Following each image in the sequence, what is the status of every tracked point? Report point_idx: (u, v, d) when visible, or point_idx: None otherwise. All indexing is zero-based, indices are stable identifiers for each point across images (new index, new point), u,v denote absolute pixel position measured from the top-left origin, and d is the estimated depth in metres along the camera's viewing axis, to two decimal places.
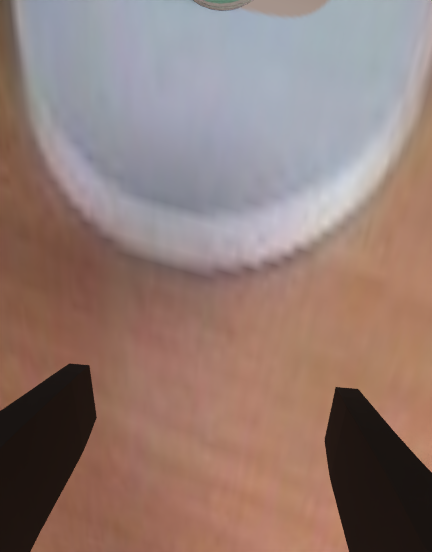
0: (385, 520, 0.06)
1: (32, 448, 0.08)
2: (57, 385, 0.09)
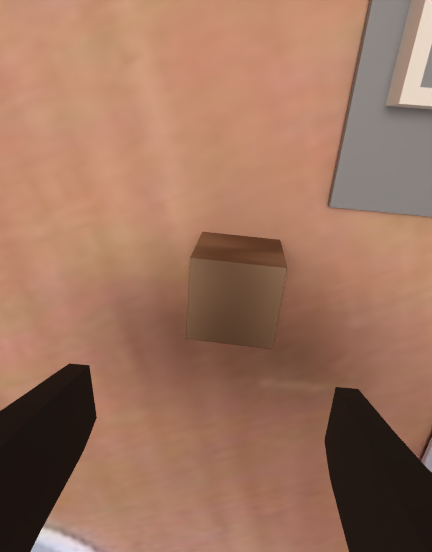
0: (385, 520, 0.06)
1: (32, 448, 0.08)
2: (57, 385, 0.09)
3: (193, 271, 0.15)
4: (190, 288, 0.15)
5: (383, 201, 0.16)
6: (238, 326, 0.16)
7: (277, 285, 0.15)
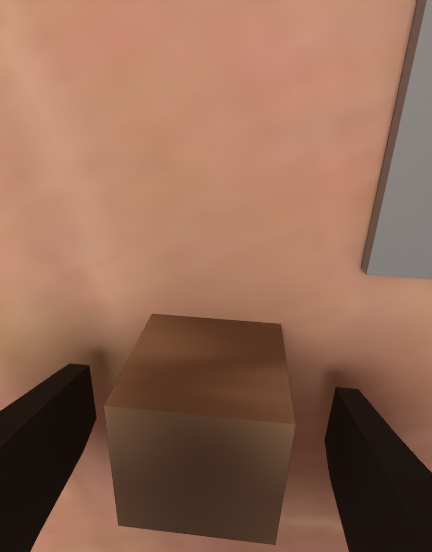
0: (385, 520, 0.06)
1: (32, 448, 0.08)
2: (57, 385, 0.09)
3: (113, 427, 0.08)
4: (112, 453, 0.08)
5: None
6: (209, 510, 0.08)
7: (277, 451, 0.07)
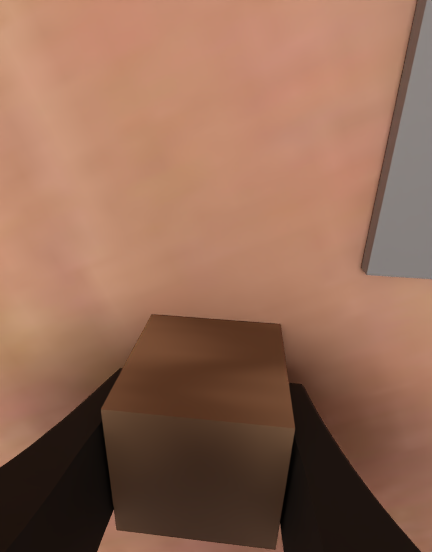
0: (301, 510, 0.07)
1: (98, 455, 0.08)
2: None
3: (111, 431, 0.07)
4: (110, 457, 0.08)
5: None
6: (208, 514, 0.08)
7: (276, 455, 0.07)
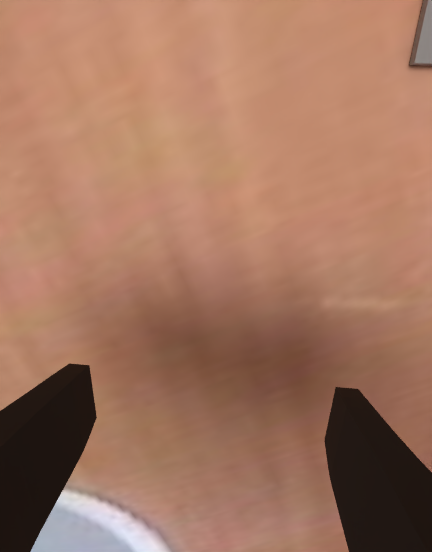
0: (385, 520, 0.06)
1: (32, 448, 0.08)
2: (57, 385, 0.09)
3: None
4: None
5: None
6: None
7: None
